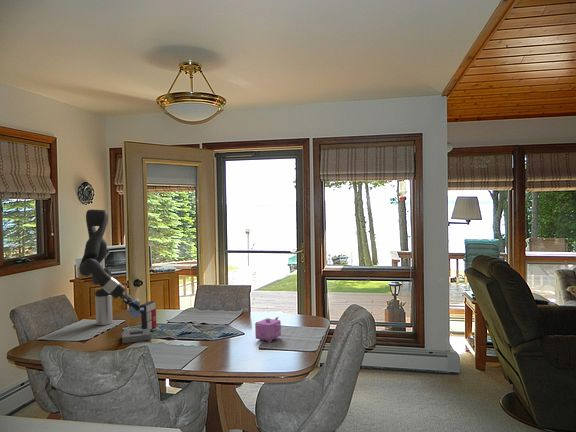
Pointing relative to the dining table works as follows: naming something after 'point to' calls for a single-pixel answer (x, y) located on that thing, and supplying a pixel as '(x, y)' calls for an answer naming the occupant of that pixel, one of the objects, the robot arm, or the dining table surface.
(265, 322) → the teapot
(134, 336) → the chassis
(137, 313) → the servo
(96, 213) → the robot arm
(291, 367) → the dining table surface
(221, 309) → the dining table surface
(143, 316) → the grey red upright box
